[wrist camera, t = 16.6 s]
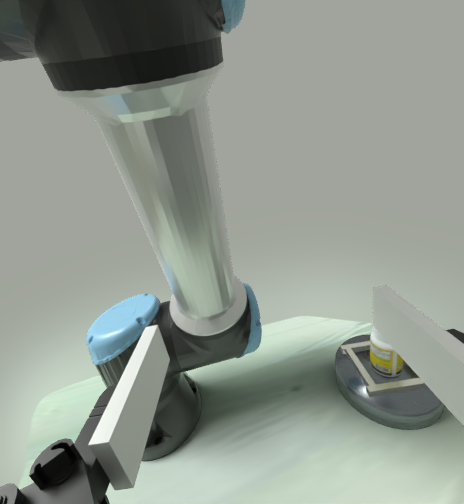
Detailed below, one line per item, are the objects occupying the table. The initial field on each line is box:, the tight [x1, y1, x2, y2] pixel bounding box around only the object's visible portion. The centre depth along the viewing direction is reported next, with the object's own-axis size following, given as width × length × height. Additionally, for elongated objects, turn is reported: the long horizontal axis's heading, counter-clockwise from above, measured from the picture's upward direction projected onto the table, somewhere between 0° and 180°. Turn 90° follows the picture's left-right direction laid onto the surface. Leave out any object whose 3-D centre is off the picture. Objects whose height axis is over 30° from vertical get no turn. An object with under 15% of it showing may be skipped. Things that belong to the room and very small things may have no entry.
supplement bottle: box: [370, 327, 403, 377], centre depth 40 cm, size 5×5×8 cm
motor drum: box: [335, 335, 444, 430], centre depth 43 cm, size 16×16×5 cm
